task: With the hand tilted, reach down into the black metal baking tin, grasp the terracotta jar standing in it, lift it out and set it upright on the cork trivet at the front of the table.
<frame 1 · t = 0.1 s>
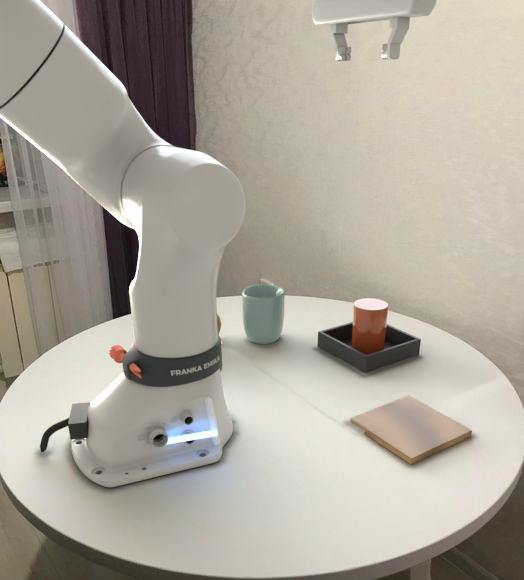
hand: (365, 60, 80), 48 cm above the table, tool pointing down, fingers open, 8 cm apart
cup: (263, 341, 113), on the table
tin: (367, 353, 108), on the table
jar: (367, 350, 107), point 1 cm above the table, touching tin
trivet: (409, 430, 84), on the table
potato: (196, 347, 111), on the table
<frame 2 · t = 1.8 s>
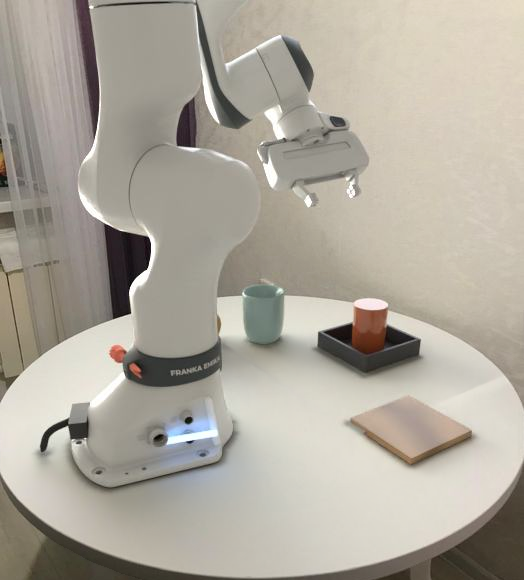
hand: (335, 200, 104), 26 cm above the table, tool tilted 45°, fingers open, 8 cm apart
nothing on the table moved.
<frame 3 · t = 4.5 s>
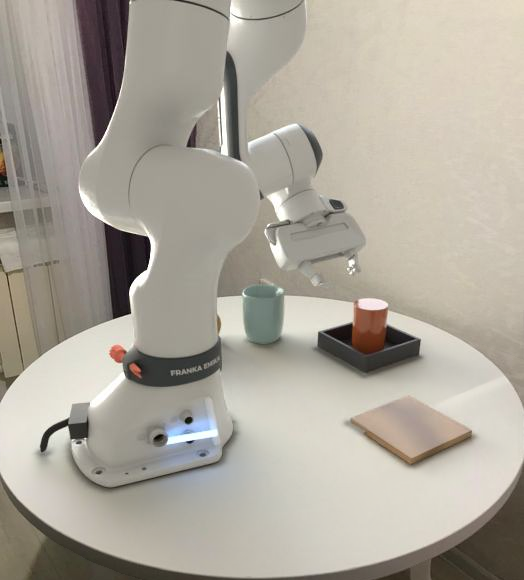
hand: (338, 279, 108), 12 cm above the table, tool tilted 45°, fingers open, 8 cm apart
nothing on the table moved.
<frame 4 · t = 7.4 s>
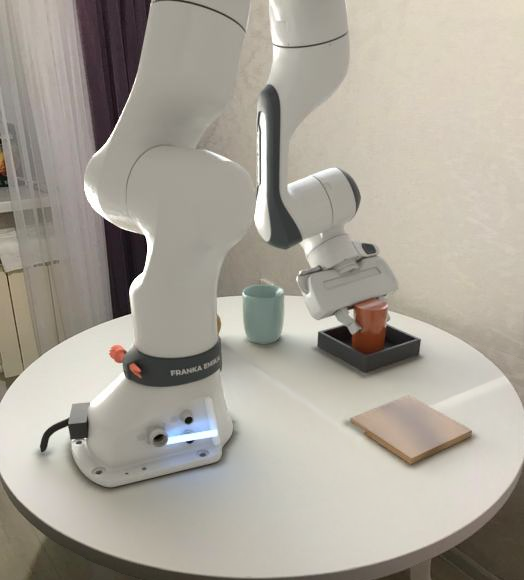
hand: (372, 327, 105), 5 cm above the table, tool tilted 45°, fingers closed on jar, 6 cm apart
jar: (367, 350, 107), point 1 cm above the table, touching gripper, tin
everything else where it was.
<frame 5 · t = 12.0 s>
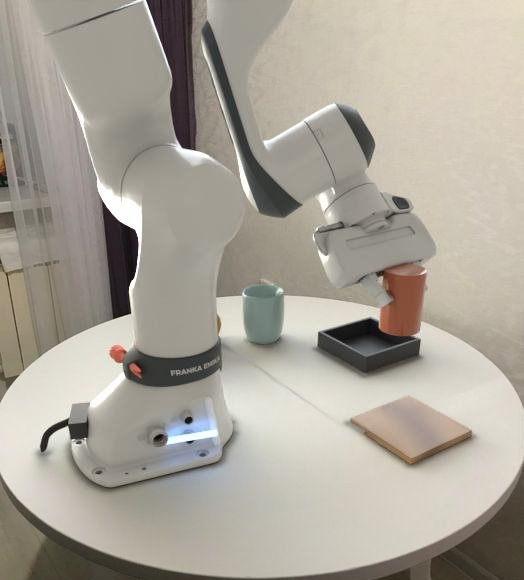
hand: (406, 298, 84), 17 cm above the table, tool tilted 45°, fingers closed on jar, 6 cm apart
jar: (399, 328, 87), point 12 cm above the table, touching gripper
everything else where it was.
when the fingers open (6 cm above the table, at t = 16.8 s): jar stays where it is, resting on trivet.
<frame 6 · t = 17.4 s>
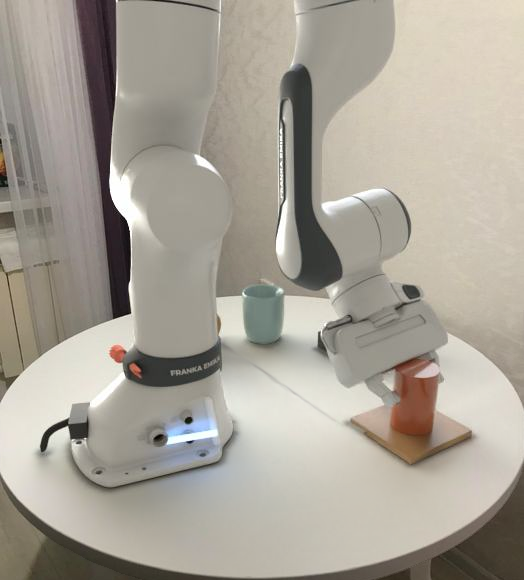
hand: (417, 394, 81), 6 cm above the table, tool tilted 45°, fingers open, 8 cm apart
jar: (411, 423, 84), point 1 cm above the table, touching trivet
everything else where it was.
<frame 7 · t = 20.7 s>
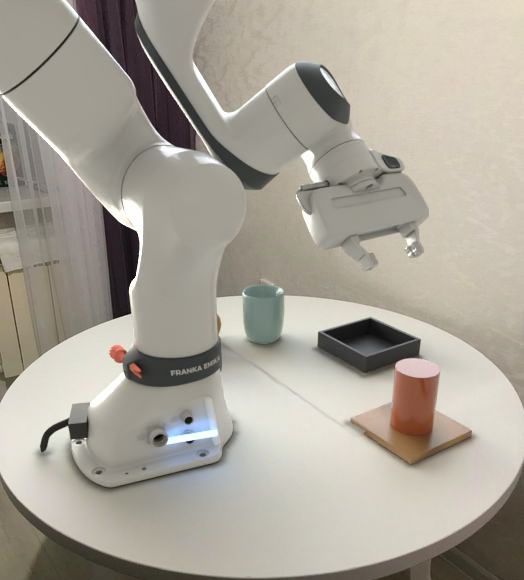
hand: (395, 261, 80), 23 cm above the table, tool tilted 45°, fingers open, 8 cm apart
nothing on the table moved.
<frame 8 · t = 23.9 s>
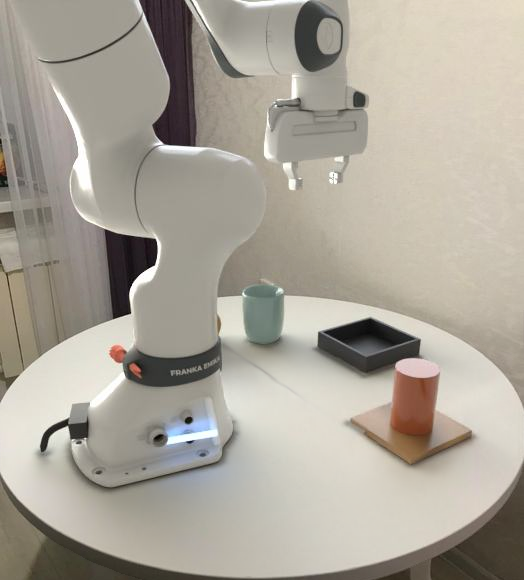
hand: (316, 186, 100), 29 cm above the table, tool pointing down, fingers open, 8 cm apart
nothing on the table moved.
at the end: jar inside the target area on the trivet (0.1 cm from its centre), point 1.0 cm above the trivet's base; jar tilted 0°; the gripper is holding nothing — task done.
